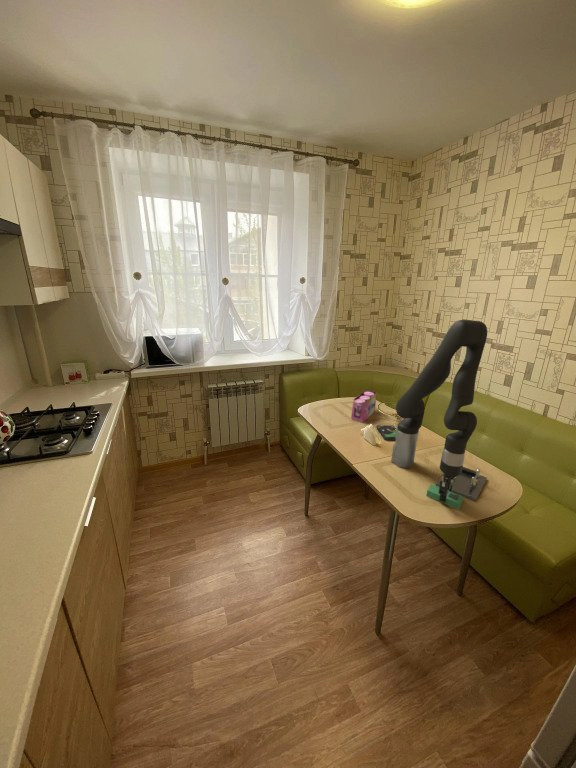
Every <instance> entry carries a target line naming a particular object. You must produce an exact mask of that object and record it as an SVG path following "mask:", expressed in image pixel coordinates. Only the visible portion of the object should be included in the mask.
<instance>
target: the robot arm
mask: <svg viewBox="0 0 576 768" xmlns="http://www.w3.org/2000/svg"><path fill="white" fill-rule="evenodd" d="M487 327H488V326H487V325H486V324H485V323H484V322H483V321H480V320H471V319H470V320H469V319H460V320H456V321H455V322H453V324H452V325H451V326H450V327H449V328H448V330H447V332H446V334H445V336H444V337H443V339H442V341H441V343H440V344H439V346H438V347H437V349H436V350H435V352H434V354H432V357H431V358H430V360H428V362H427V363H426V365H425V366H424V367H423V368H422V371H420V373H419V375H418V376H417V377H416V379H415V380H414V381H413V383H412V384H411V385H410V386H409V388H408V389H407V390H406V392H404V394H403V395H402V396H401V397H400V398H399V399H398V400H397V402H396V405H395V412H396V414H397V415H398V417H400V418H402V419H401V420H400V421H399V422H398V424H397V428H396V429H397V434H396V440H395V442H394V443H393V446H392V453H391V460H390V461H391V462H392V463H394V465H395V466H397V467H399V468H404V469H409V468H413V466H414V462H415V457H416V451H417V443H418V438H419V433H420V428H421V427H422V425H423V421H424V420H423V419H424V415H425V412H426V411H425V410H426V408H425V407H426V406H425V405H426V404H425V401H424V399H425V398H426V397H428V396H429V395H431V394H432V393H434V392H435V391H436V390H438V389H439V388H440V387H441V386H442V385H443V384H444V383H445V382H446V380H447V379H448V378H449V376H450V374H451V371H452V359H453V357H454V356H455V355H456V354H457V352H458V351H459V350H460V349H461V348H462V347H465V348H466V353H465V356H464V359H463V362H462V363H461V366H460V367H459V368H458V371H456V374H455V376H454V378H453V382H452V387H451V397H450V401H449V404H448V407H447V409H446V411H445V414H444V417H443V424H444V426H445V427H446V429H448V430H450V431H456V432H451V433H448V434H447V435H446V437H445V440H444V447H443V450H442V453H441V459H440V464H439V469H440V471H441V472H442V473H443V474H444V475H443V474H442V475H443V476H442V475H441V476H442V481H440V487H439V486H438V487H439V494H440V498H439V501H438V502H440V501H441V502H440V503H442V502H443V504H444V503H445V502H446V497H447V494H448V491H450V492H451V490H452V486H453V484H454V482H455V478H456V476H459V475H460V474H461V472H462V467H464V461H465V457H466V455H465V454H466V449H467V444H468V442H469V441H470V438H471V436H472V435H473V433H474V432H475V430H476V428H477V426H478V425H477V424H478V418H477V416H476V414H475V413H474V412H472V411H465V410H464V411H462V410H460V409H461V408H462V407H467V406H471V405H473V403H474V399H475V398H474V396H475V388H476V380H477V374H478V371H479V366H480V363H481V360H482V357H483V353H484V349H485V347H486V346H485V345H486V342H487V338H488V328H487Z"/></svg>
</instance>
